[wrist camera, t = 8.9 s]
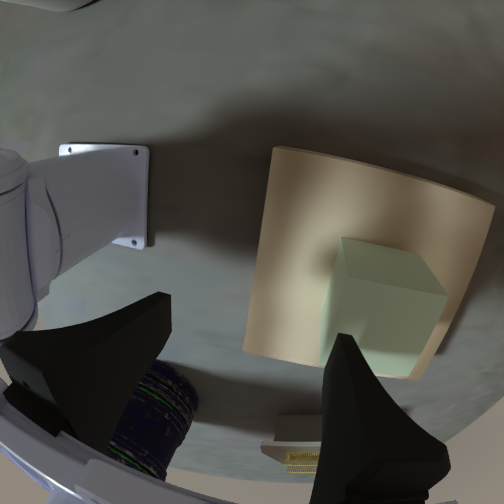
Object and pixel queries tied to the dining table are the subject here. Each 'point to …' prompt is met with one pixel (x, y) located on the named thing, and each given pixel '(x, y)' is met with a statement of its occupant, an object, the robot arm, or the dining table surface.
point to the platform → (296, 441)
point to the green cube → (381, 305)
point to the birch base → (357, 228)
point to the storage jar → (154, 421)
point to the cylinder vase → (53, 4)
